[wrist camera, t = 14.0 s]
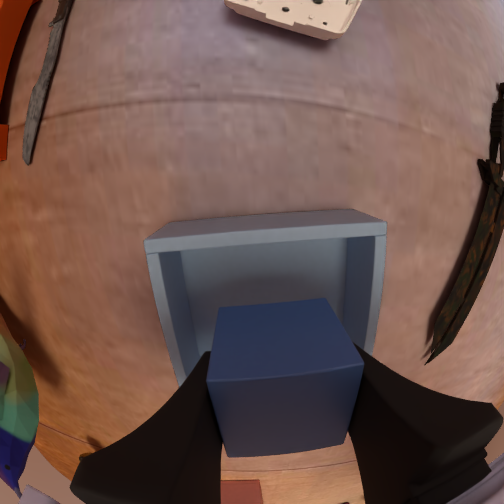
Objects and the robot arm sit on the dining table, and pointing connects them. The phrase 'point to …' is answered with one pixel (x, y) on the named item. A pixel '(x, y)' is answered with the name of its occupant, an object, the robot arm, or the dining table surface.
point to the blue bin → (264, 272)
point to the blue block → (282, 377)
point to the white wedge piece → (301, 15)
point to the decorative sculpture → (15, 408)
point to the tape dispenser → (9, 47)
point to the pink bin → (241, 492)
